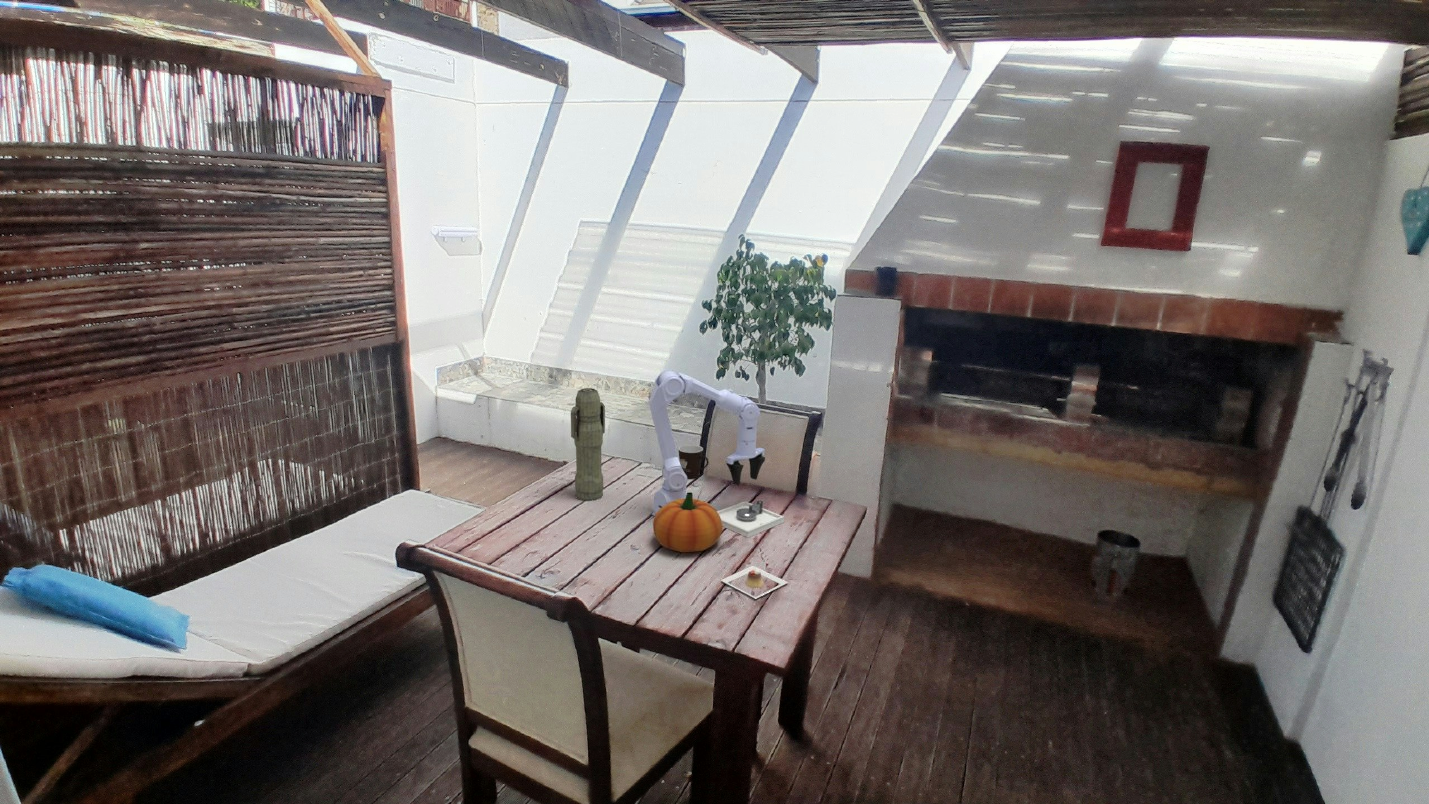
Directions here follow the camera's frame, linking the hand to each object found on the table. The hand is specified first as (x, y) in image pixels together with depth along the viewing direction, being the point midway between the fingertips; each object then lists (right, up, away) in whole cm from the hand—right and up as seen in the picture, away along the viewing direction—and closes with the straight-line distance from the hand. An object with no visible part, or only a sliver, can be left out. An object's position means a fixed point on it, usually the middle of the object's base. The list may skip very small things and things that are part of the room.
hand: (745, 481), depth 221 cm
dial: (+1, -10, -5) cm, 11 cm away
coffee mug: (-17, -2, +29) cm, 34 cm away
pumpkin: (-17, -15, -21) cm, 31 cm away
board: (0, -11, -6) cm, 13 cm away
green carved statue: (-50, -6, +10) cm, 51 cm away
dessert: (0, -21, -42) cm, 47 cm away
